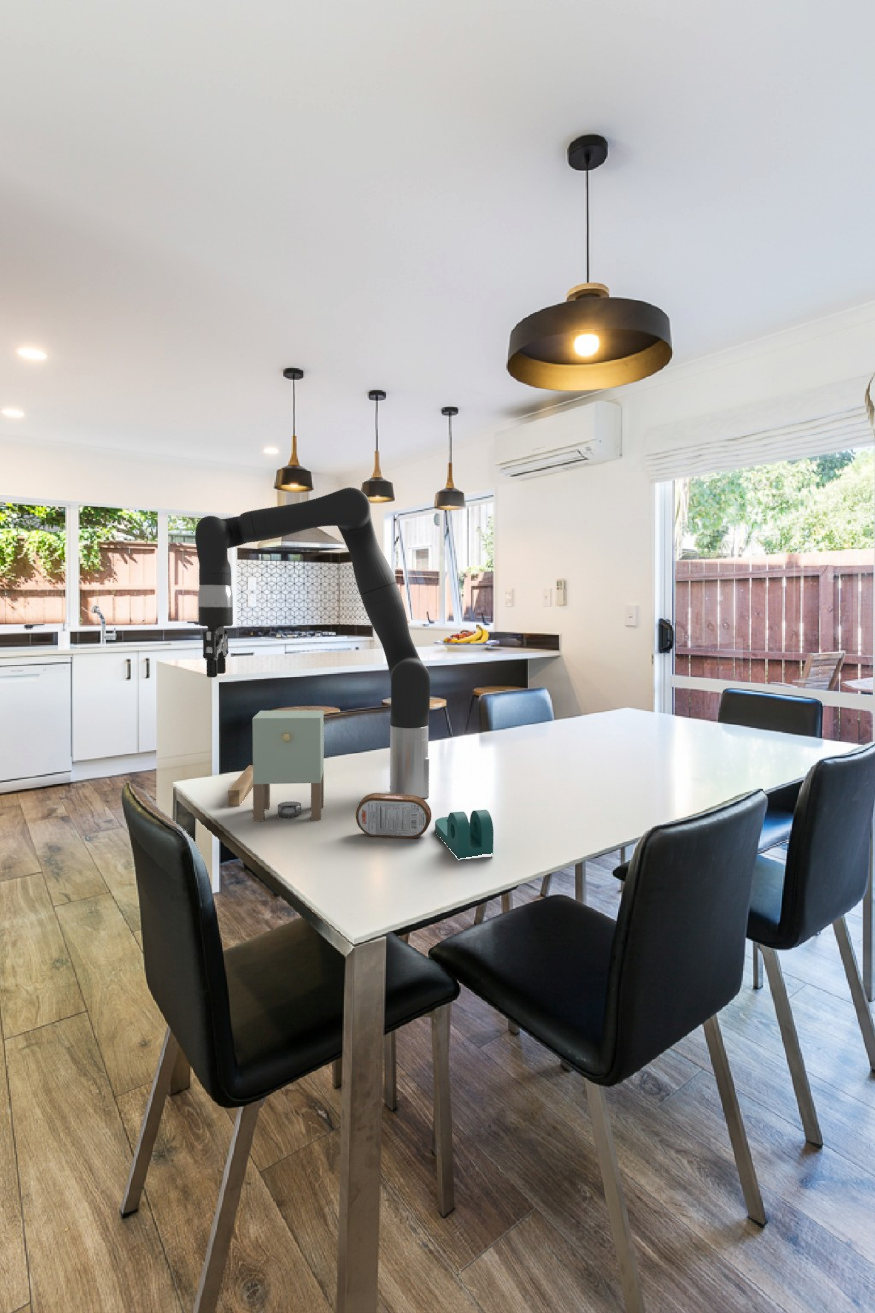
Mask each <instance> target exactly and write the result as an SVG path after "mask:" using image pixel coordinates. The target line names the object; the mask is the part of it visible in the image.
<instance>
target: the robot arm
mask: <svg viewBox="0 0 875 1313" xmlns="http://www.w3.org/2000/svg"><path fill="white" fill-rule="evenodd" d="M322 527H337V529H338V530H339V532H340V535H341V537H342V538H343V541H344V543H345V545H346V548H347V550H348V553H349V556H350V560H351V565H352V569H353V575H354V578H355V582H356V586H357V589H358V590H357V591H358V594H359V596H360V598H361V601H362V605H363V607H364V609H365V612H366V614H367V617H368V620H369V621H370V623H371V626H372V628H373V630H374V631H375V634H376V635H377V638H378V639H379V641H380V643H381V646H382V648H383V649H382V650H383V651H384V655H385V660H386V664H387V668H388V673H389V678H390V715H389V716H390V717H389V718H390V724H389V725H390V726H389V727H390V730H389V731H390V732H389V735H390V737H389V739H390V740H389V741H390V742H389V744H390V745H389V794H404V795H415V796H418V797H420V798H422V799H426V798H429V796H430V794H429V793H430V792H429V791H430V758H429V721H430V720H429V717H430V712H431V711H430V710H431V708H430V707H431V706H430V705H431V675H430V672H429V670H428V668H427V667H426V665H425V664H424V663H423V662H422V659H421V657H420V655H419V653H418V651H417V649H416V646H415V644H414V642H413V639H412V636H411V633H410V630H409V624H408V619H407V618H408V617H407V613H406V612H407V611H406V607H405V603H404V600H403V598H402V595H401V591H400V588H399V586H398V583H397V580H396V578H395V575H394V573H393V571H392V568H391V566H390V564H389V562H388V561H387V559H386V557H385V555H384V553H383V552H382V549H381V548H380V545H379V542H378V539H377V536H376V531H375V528H374V524H373V520H372V515H371V503H370V499H369V497H368V496H367V495H366V494H365V493H364V492H363V491H362V490H361V489H358V488H355V487H344V488H342V489H339V490H336V491H334V492H332V493H328V494H325V495H322V496H320V497H316V498H312V499H309V500H304V501H300V502H296V503H291V504H284V505H279V506H271V507H265V508H259V509H254V510H250V511H249V510H248V511H245V512H242V513H240V514H239V515H238V516H233V517H227V518H219V517H218V516H214V515H207V516H204V517H202V518H201V519H199V521H198V522H197V524H196V527H195V534H194V538H195V539H194V540H195V548H196V554H197V559H198V565H199V566H198V567H199V568H198V582H199V583H198V592H197V593H198V595H197V606H198V608H197V610H198V625H199V626H200V627H207V631H206V630H205V631H203V632H202V658H203V659H204V660H205V661H206V677H207V678H217V677H218V675H222V674H223V675H224V674H226V670H227V668H226V667H227V666H226V662H227V661H226V658H227V657H228V655H229V637H228V636H229V635H228V634H229V631H228V630H227V629H225V628H224V627H231V626H233V625H234V610H233V609H234V608H233V607H234V604H233V603H234V600H233V597H234V596H233V590H232V569H231V568H232V567H231V566H232V565H231V564H230V562H229V560H228V549H231V548H235V547H239V546H241V545H244V544H248V543H255V542H257V543H258V542H262V541H270V540H273V539H278V538H282V537H286V536H289V535H292V534H296V533H299V532H302V531H306V530H310V529H315V528H322Z"/></svg>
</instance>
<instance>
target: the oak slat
mask: <svg viewBox="0 0 875 1313" xmlns="http://www.w3.org/2000/svg"><path fill="white" fill-rule="evenodd" d="M252 790H253V764H252V765H251V764H250V765H247V767H246V768H245V770H243V772H242V773H241V774H240V775H239V777H238V778H237V779H236V780H235V781H234V783H233V784H232V785H231V786H230V787H229V789H228V790H227V807H240V806H241V805H242V804H243V802H244V800H245V799H246V798H247V796H249V794H250V792H251V791H252ZM245 797H246V798H245ZM242 801H243V802H242ZM240 804H241V805H240Z"/></svg>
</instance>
